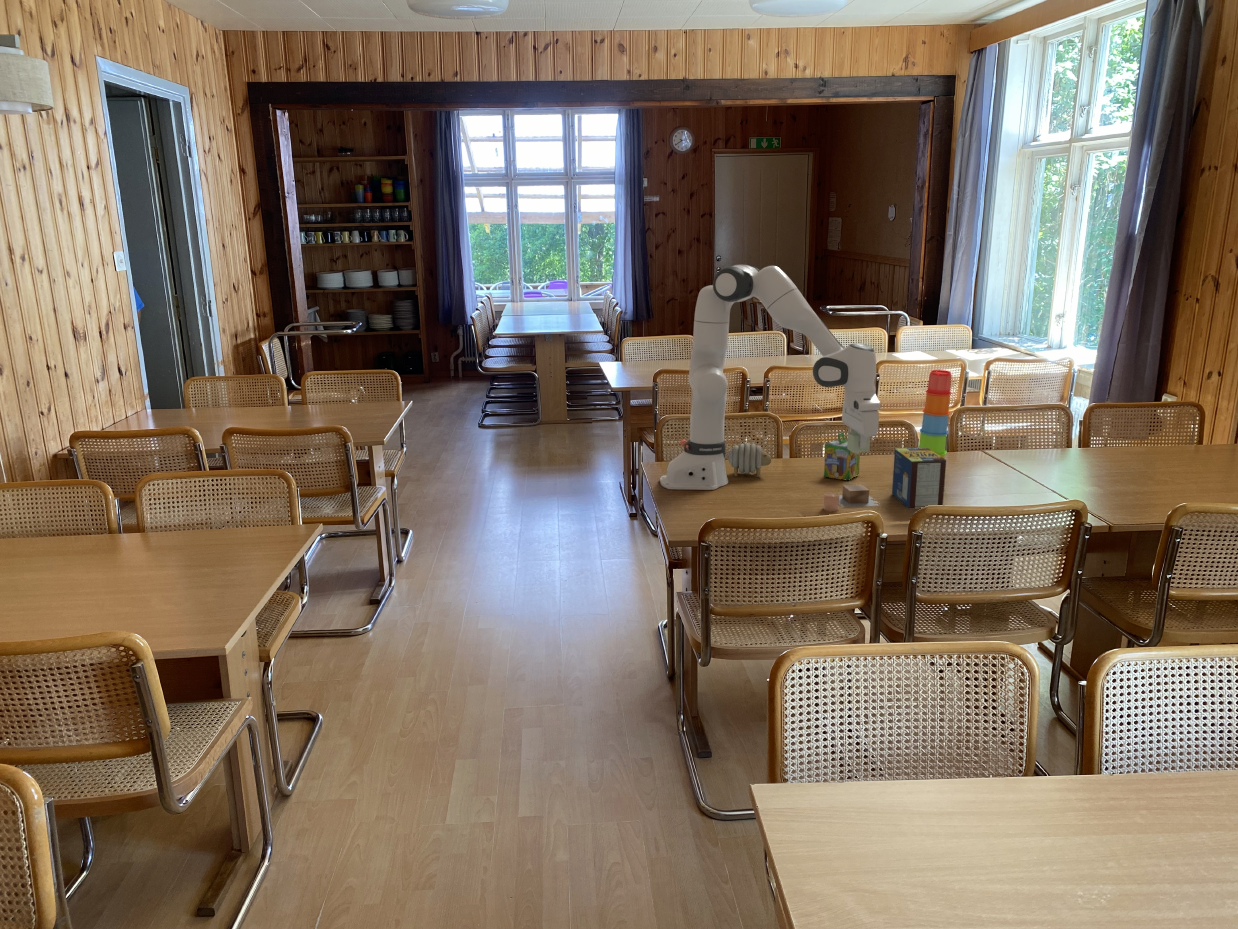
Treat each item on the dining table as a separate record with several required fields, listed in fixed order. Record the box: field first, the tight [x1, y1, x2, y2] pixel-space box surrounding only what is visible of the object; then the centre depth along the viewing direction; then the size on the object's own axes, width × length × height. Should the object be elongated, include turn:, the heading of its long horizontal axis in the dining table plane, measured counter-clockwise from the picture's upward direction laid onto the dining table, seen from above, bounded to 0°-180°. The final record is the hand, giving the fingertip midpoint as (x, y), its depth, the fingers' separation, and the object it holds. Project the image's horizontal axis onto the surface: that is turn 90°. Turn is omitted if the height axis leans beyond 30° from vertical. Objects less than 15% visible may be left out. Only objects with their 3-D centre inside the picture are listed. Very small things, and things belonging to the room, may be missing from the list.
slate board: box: [838, 494, 879, 508], centre depth 273 cm, size 12×12×1 cm
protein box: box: [891, 447, 947, 510], centre depth 270 cm, size 10×15×16 cm
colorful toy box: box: [823, 431, 861, 481], centre depth 300 cm, size 9×9×15 cm
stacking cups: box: [917, 369, 953, 459], centre depth 301 cm, size 10×10×35 cm
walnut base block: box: [841, 484, 870, 504], centre depth 273 cm, size 6×6×4 cm
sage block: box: [847, 432, 871, 454], centre depth 269 cm, size 5×5×5 cm
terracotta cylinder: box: [822, 492, 840, 512], centre depth 265 cm, size 4×4×5 cm
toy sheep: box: [724, 442, 772, 478], centre depth 304 cm, size 11×17×11 cm, turn 85°
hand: (858, 444), depth 269 cm, fingers closed on sage block, 5 cm apart
